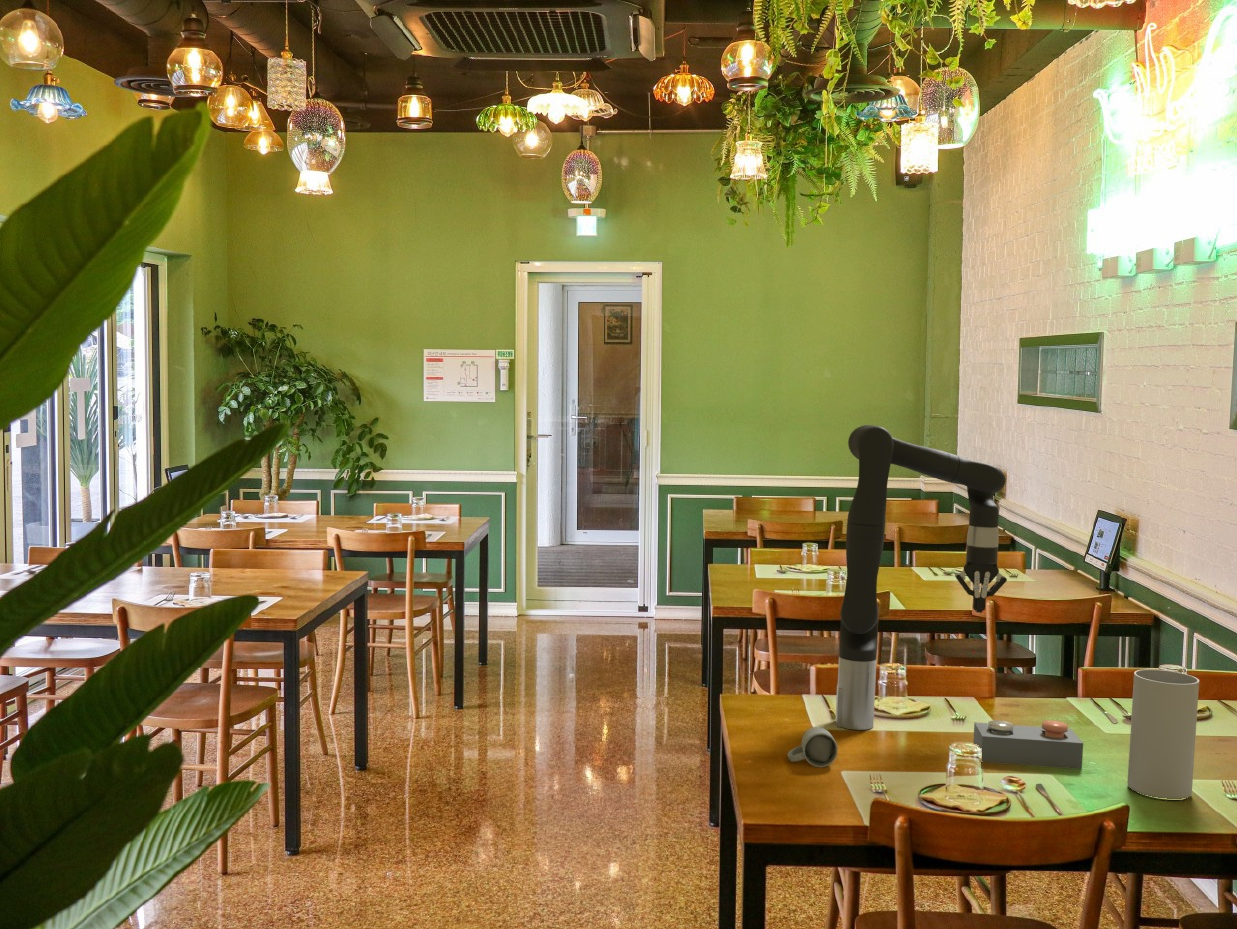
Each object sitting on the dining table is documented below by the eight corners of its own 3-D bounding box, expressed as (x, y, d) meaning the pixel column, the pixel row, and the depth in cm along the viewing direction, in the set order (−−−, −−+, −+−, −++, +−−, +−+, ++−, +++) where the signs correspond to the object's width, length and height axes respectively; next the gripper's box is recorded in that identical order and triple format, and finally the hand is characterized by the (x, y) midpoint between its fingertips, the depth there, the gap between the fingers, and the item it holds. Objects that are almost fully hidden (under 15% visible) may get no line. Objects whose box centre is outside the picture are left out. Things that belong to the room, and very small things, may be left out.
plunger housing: (981, 762, 262) (982, 736, 261) (973, 747, 272) (974, 722, 272) (1081, 769, 259) (1083, 743, 258) (1069, 754, 269) (1071, 728, 269)
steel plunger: (989, 752, 264) (990, 726, 263) (984, 745, 269) (986, 719, 269) (1014, 754, 263) (1015, 728, 263) (1009, 747, 269) (1011, 721, 268)
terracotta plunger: (1043, 753, 262) (1045, 726, 262) (1038, 745, 268) (1039, 719, 267) (1069, 755, 261) (1070, 728, 261) (1063, 747, 267) (1064, 721, 266)
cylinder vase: (1114, 785, 249) (1121, 671, 247) (1156, 778, 254) (1163, 667, 252) (1161, 805, 237) (1169, 686, 235) (1205, 798, 242) (1212, 681, 240)
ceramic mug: (832, 756, 263) (832, 723, 262) (837, 768, 254) (838, 734, 254) (785, 755, 263) (786, 722, 262) (789, 767, 255) (790, 733, 254)
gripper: (957, 544, 285) (953, 613, 286) (1012, 547, 283) (1008, 616, 285) (953, 540, 293) (949, 607, 294) (1006, 543, 291) (1003, 610, 292)
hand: (978, 612), depth 289 cm, fingers closed
